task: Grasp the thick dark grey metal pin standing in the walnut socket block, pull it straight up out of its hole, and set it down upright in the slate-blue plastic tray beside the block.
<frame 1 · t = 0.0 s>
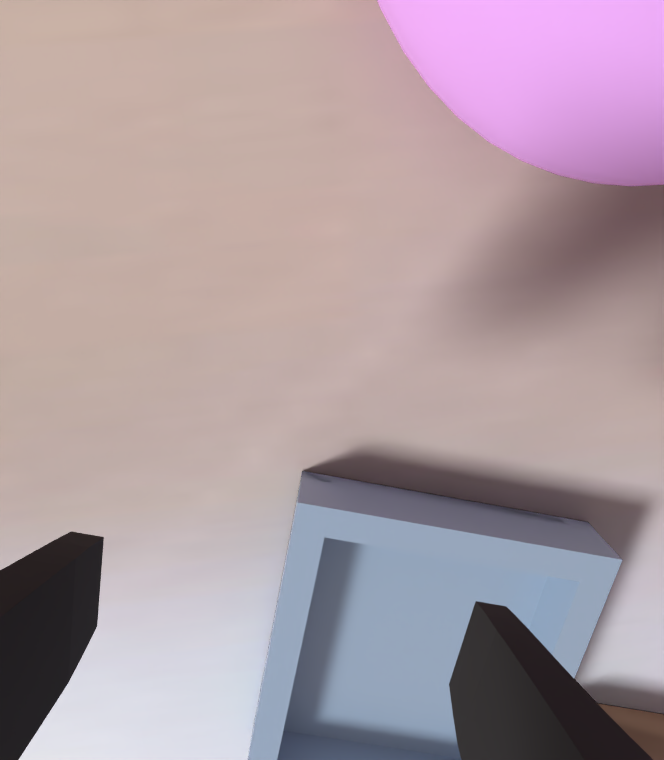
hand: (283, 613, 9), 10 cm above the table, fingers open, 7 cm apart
tray: (407, 635, 22), on the table
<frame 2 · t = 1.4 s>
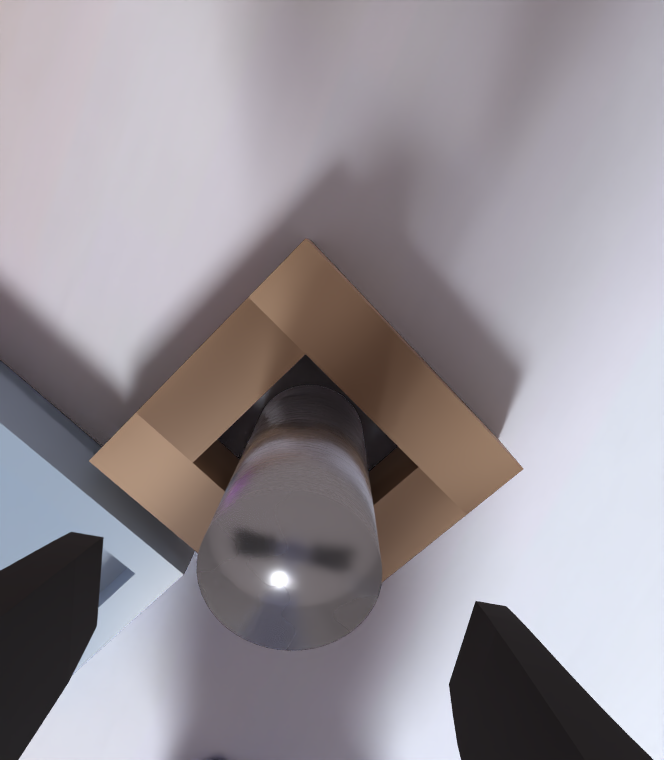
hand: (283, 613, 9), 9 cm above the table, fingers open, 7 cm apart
pin: (302, 486, 14), in the socket block
socket block: (309, 436, 18), on the table
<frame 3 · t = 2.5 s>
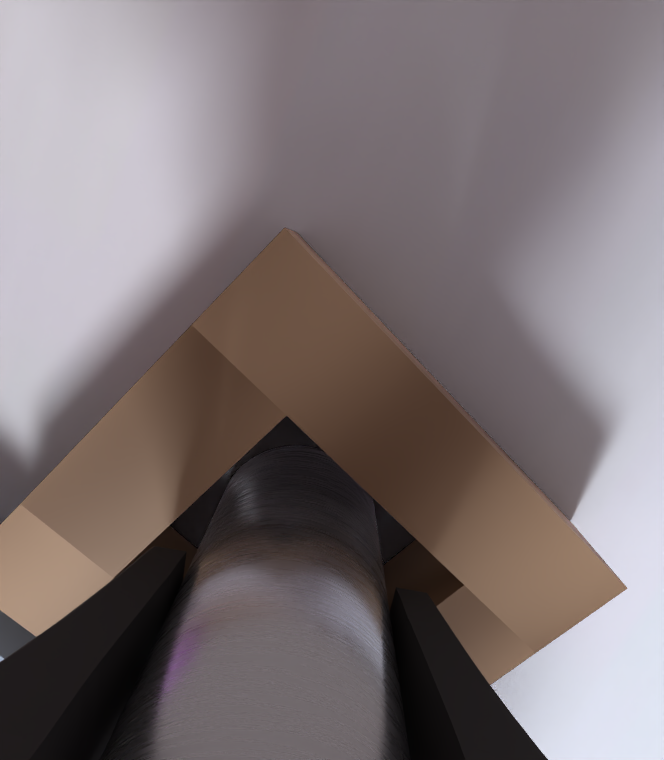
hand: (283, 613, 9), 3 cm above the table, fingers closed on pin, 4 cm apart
pin: (280, 636, 9), in the socket block, touching gripper
socket block: (297, 517, 13), on the table
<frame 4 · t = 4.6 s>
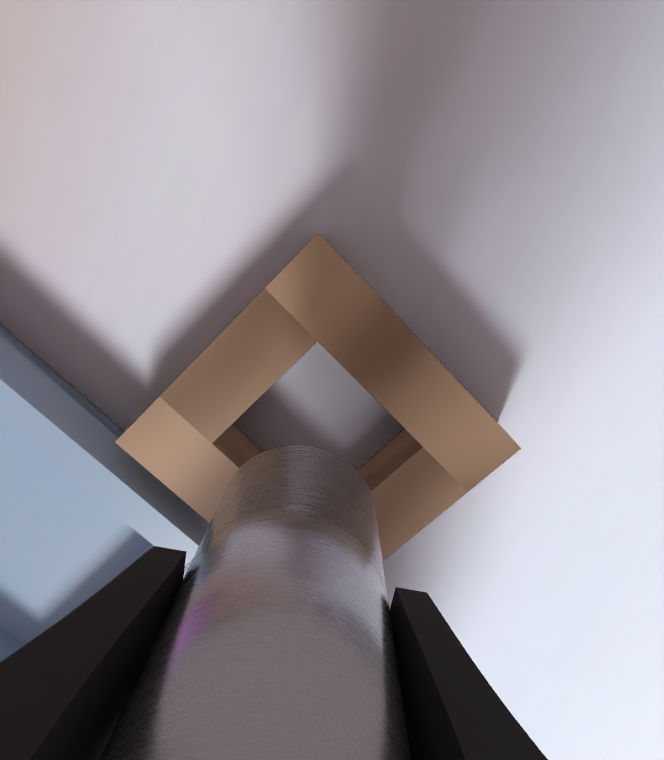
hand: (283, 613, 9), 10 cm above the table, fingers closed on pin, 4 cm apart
pin: (280, 635, 9), point 11 cm above the table, touching gripper
socket block: (319, 420, 19), on the table
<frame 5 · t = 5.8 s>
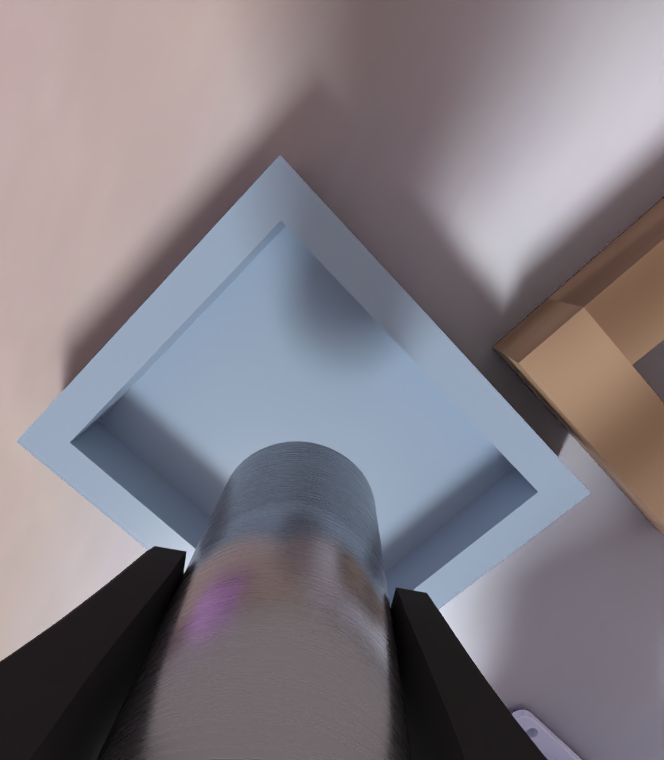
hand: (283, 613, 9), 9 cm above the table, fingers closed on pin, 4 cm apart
pin: (281, 631, 9), point 10 cm above the table, touching gripper
tray: (310, 437, 18), on the table
when the fingers open (5 cm above the table, at t = 6.8 s): pin drops 1 cm, resting on tray.
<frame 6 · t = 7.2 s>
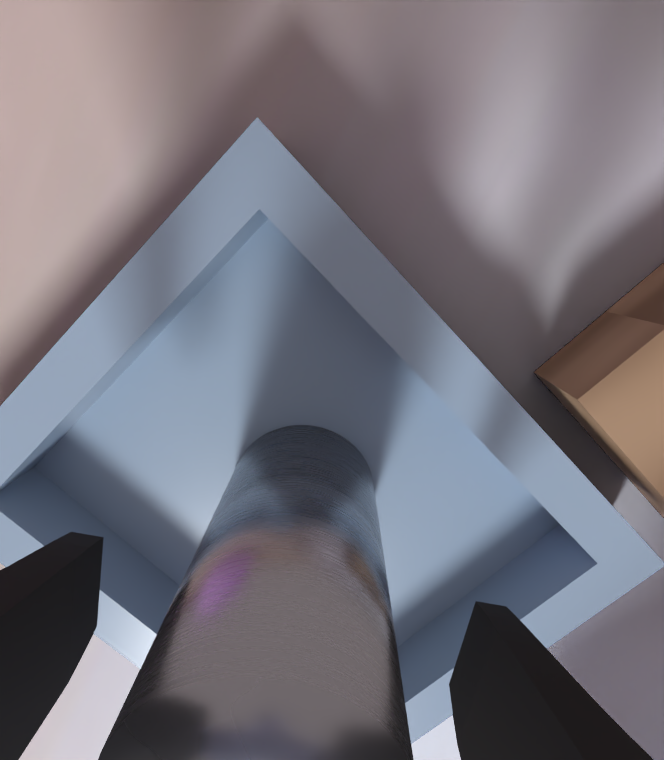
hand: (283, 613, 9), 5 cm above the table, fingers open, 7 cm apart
pin: (288, 587, 10), in the tray, point 5 cm above the table
tray: (302, 484, 14), on the table
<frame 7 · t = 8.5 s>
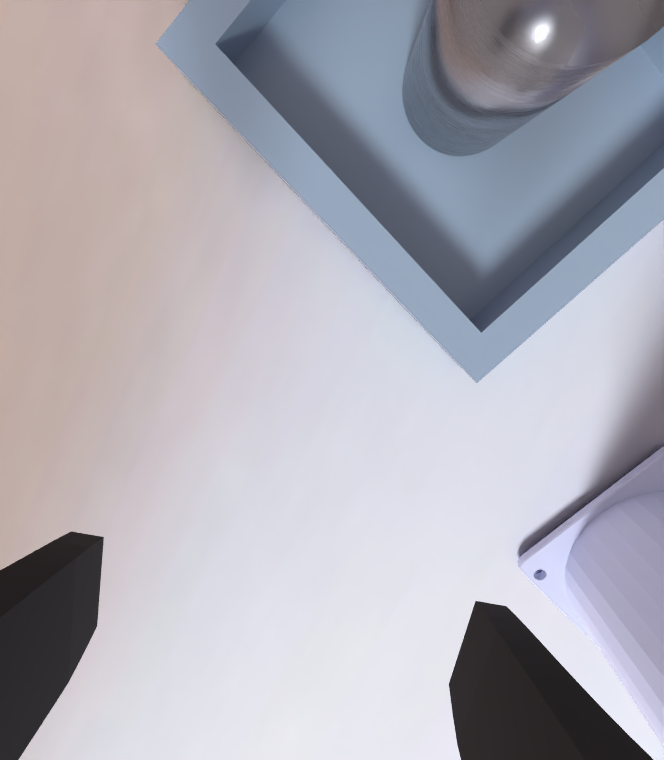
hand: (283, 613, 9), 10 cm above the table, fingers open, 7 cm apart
pin: (506, 34, 12), in the tray, point 5 cm above the table
tray: (458, 98, 16), on the table
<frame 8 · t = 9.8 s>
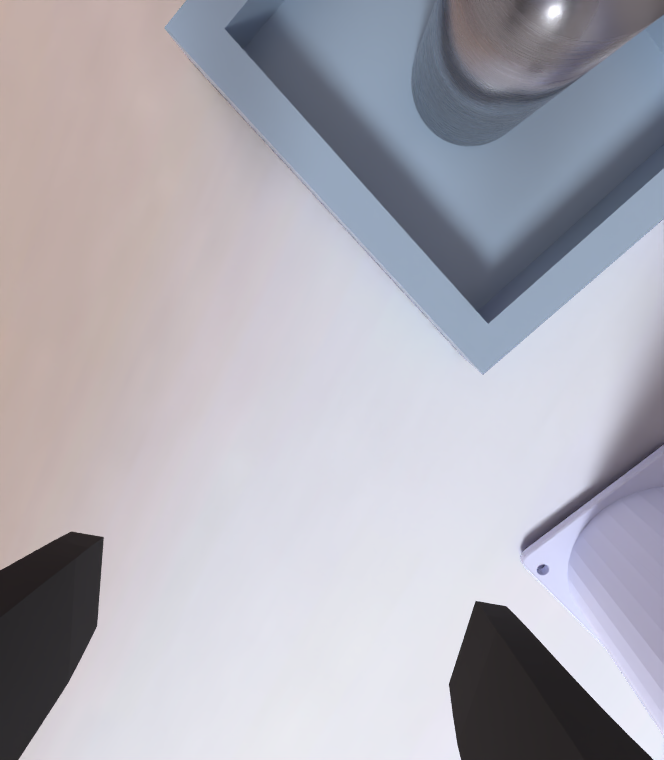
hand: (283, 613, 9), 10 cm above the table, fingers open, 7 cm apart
pin: (518, 18, 12), in the tray, point 5 cm above the table
tray: (467, 88, 16), on the table
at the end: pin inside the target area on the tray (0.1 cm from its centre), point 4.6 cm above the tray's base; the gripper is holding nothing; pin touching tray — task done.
